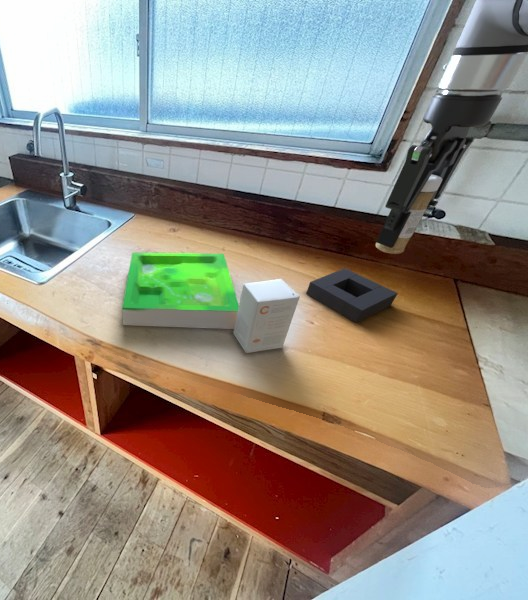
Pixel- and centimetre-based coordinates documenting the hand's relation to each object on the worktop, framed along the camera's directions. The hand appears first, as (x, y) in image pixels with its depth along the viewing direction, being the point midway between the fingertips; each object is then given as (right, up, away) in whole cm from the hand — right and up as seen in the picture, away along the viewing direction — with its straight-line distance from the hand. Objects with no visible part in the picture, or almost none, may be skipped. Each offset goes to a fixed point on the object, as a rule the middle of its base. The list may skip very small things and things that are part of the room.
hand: (392, 241), depth 60 cm
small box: (-22, -20, +8) cm, 31 cm away
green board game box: (-37, -10, +22) cm, 44 cm away
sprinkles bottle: (0, -1, +1) cm, 2 cm away
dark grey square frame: (+3, -11, +18) cm, 21 cm away
